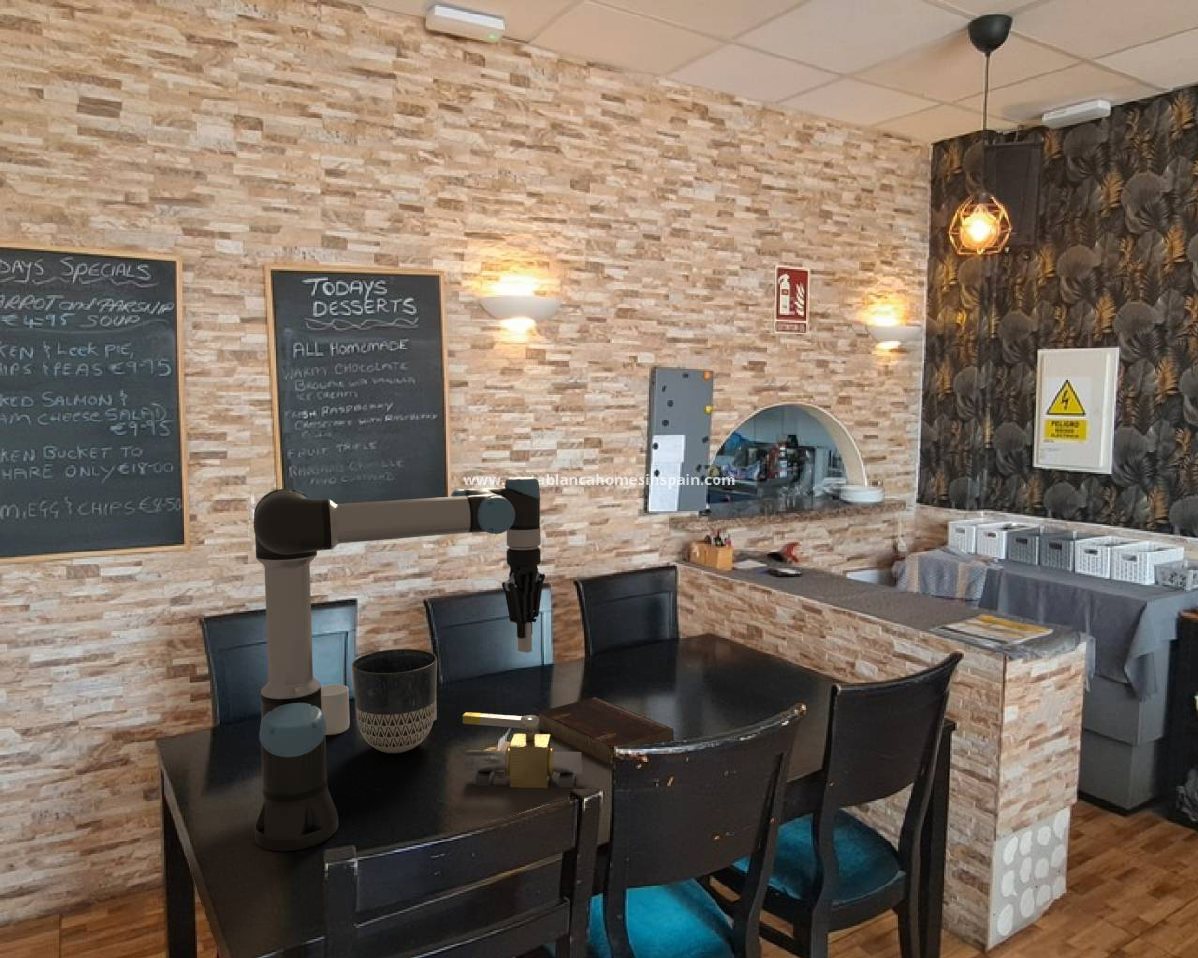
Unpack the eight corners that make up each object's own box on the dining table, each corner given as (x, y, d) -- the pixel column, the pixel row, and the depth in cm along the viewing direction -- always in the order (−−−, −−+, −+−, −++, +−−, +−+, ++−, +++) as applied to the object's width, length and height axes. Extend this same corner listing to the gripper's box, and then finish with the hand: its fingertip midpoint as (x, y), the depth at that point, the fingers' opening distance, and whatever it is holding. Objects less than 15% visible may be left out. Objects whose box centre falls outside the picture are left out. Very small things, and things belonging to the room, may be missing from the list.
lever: (541, 724, 188) (541, 715, 187) (536, 731, 184) (536, 722, 184) (467, 718, 191) (467, 710, 191) (461, 725, 187) (461, 716, 187)
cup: (321, 737, 212) (319, 697, 211) (306, 723, 221) (305, 684, 221) (354, 730, 216) (353, 691, 215) (338, 716, 226) (337, 678, 225)
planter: (339, 748, 205) (336, 660, 203) (410, 726, 219) (408, 644, 217) (382, 773, 191) (379, 679, 189) (455, 748, 205) (453, 660, 203)
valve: (580, 788, 183) (579, 735, 182) (463, 786, 184) (462, 734, 183) (582, 774, 190) (582, 723, 189) (470, 772, 191) (469, 721, 190)
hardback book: (673, 746, 206) (673, 726, 206) (614, 768, 194) (614, 747, 194) (596, 713, 228) (596, 695, 228) (539, 731, 217) (538, 711, 216)
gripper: (528, 541, 198) (529, 641, 200) (491, 549, 187) (493, 655, 189) (554, 544, 194) (555, 646, 196) (518, 552, 183) (520, 661, 185)
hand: (524, 650), depth 193 cm, fingers closed
